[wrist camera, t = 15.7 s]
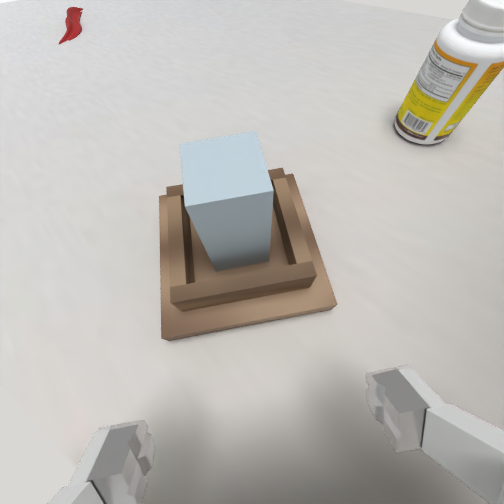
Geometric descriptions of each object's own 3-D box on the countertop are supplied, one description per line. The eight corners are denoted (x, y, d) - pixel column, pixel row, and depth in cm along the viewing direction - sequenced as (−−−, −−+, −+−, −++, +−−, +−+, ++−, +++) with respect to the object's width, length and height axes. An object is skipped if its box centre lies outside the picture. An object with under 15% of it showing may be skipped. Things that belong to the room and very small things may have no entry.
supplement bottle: (444, 114, 26) (542, -21, 17) (450, 150, 24) (567, 16, 15) (391, 109, 27) (457, -24, 18) (392, 143, 25) (468, 11, 16)
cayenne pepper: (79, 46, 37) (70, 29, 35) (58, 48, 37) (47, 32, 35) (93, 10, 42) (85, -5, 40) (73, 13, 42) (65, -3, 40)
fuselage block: (209, 226, 20) (179, 143, 12) (258, 217, 20) (256, 131, 13) (216, 271, 18) (184, 206, 11) (269, 261, 18) (273, 190, 11)
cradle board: (165, 206, 22) (146, 175, 19) (291, 185, 23) (296, 151, 19) (169, 340, 17) (144, 333, 14) (331, 309, 18) (349, 294, 14)
